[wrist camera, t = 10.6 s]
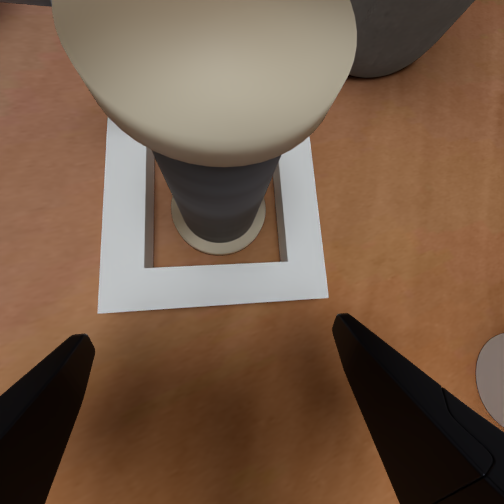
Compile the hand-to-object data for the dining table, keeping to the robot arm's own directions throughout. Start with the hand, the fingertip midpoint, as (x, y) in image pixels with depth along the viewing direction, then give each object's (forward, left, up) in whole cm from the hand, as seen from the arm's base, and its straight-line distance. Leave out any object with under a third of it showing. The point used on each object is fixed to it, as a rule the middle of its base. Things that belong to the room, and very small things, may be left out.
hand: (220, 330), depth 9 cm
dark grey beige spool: (+7, -1, -8) cm, 11 cm away
